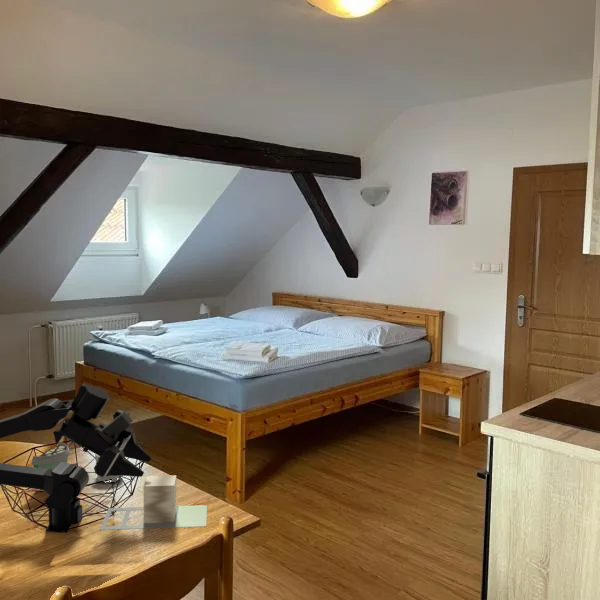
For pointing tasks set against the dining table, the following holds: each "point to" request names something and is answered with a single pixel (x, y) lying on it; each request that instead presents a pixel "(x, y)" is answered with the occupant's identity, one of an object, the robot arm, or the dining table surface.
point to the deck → (183, 518)
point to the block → (159, 499)
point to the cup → (106, 473)
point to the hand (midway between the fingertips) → (146, 467)
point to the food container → (52, 457)
